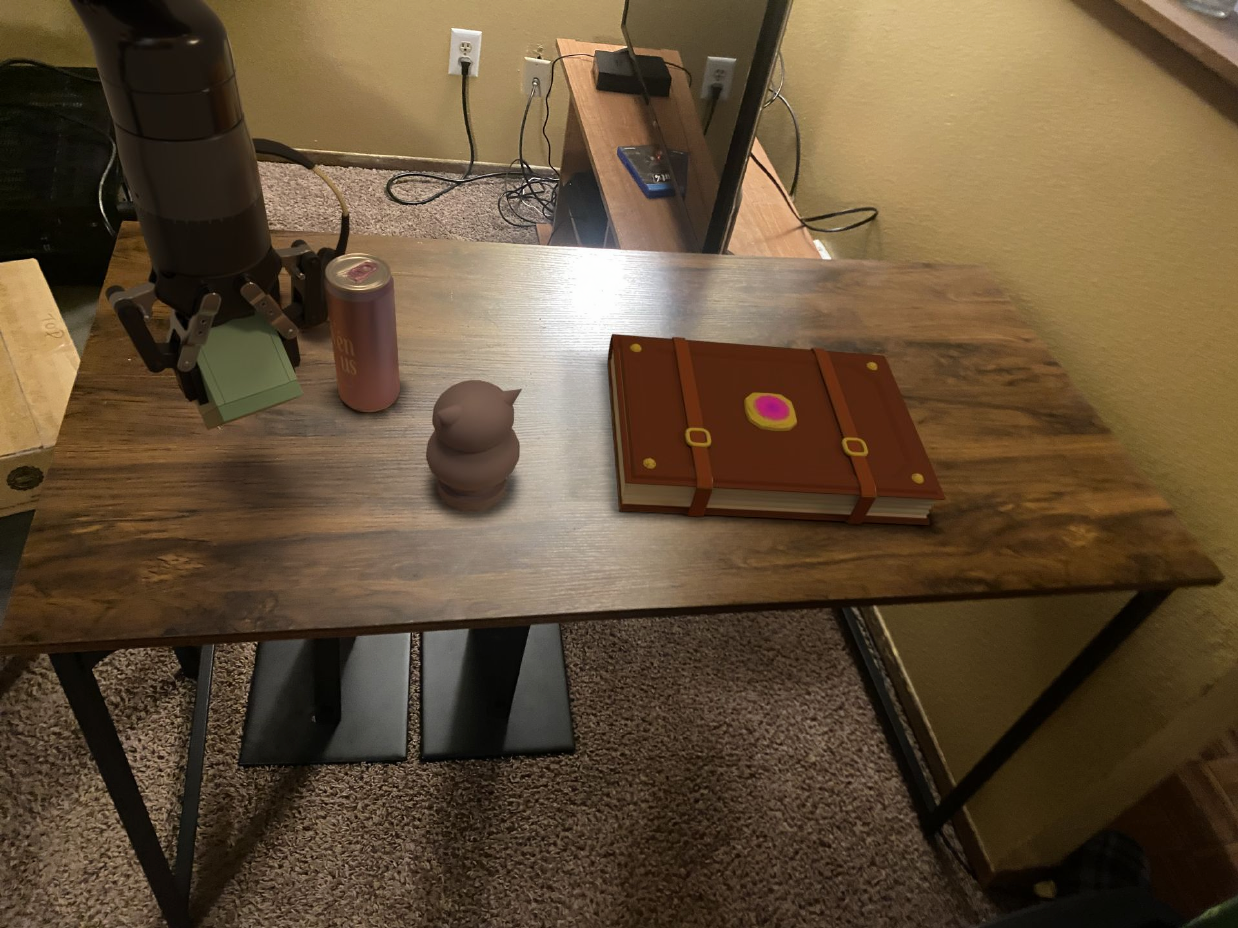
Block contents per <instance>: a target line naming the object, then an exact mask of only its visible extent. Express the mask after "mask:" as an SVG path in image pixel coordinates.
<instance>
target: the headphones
mask: <svg viewBox="0 0 1238 928" xmlns="http://www.w3.org/2000/svg"><path fill="white" fill-rule="evenodd" d="M252 141H253V144H254V148H255V153H256V154H260V155H269V156H275V157H279V158H282V159H285V160H287V161H291V162H293V163H295V164H297V165H299V166H302V167H303V168H305V169H307V170H308V171H312V172H313V173H314V174H315V175H317V176H318V177H319V178H320V179H321V180H322V181H323V182H324V183H325V184H326V185H327V186H328V187H329V188H330V190H331V191H332V192H333V194H334V195H335V197H336V198H337V201H338V202H339V204H340V208H341V217H340V218H341V219H340V232H339V237H338V241H337V244H336V247H335V248H332V247H329V246H328V247H326V246H323V247H321V248H320V249H318V250H317V252H316V255H317V256H318V257H319V258H320V259H321V262H322V264H321V310H320V321H319V322H318V323H317V324H316V325H313V326H309V325H306V326H307V327H309V328H314V327H318V326H320V325H322V324H324V323H326V322H329V315H328V307H327V300H326V292H325V285H324V280H325V276H326V275H325V270H326V267H327V265H328V264H329V263H330V262H331V261H332V260H333V259H335V258H337V257H339V256H342V255H346V252H347V249H348V244H349V243H348V242H349V237H350V231H351V230H350V226H351V225H350V212H349V210H348V207H347V203H346V202H345V201H346V200H345V199H344V196H343V195H342V193H341V192H340V190H339V189H338V188H337V185H335V183H334V182H333V181H332V180H331V179H330V177H328V176H327V175H326V174H325V173H324V172H323V171H322V170H321V169H319V167H317V166H316V163H314V162H313V161H312V160H311V159H309V158H308V157H307V156H306V155H304V154H303V153H302V152H300V151H298V150H296V149H294V148H293V147H290V146H289V145H286V144H284V143H282V142H279V141H277V140H276V141H275V140H271V139H267V138H262V137H261V138H258V137H252ZM280 285H281V284H280V279H279V277H278V278H277V279H276V281H275V283H274V285H273V287H272V289H271V290H270V292H269V295H270V296H271V297H272V298H273V299H274V300H275V301H276V303H277V304H278V305H279V302H280V297H281V288H280V287H281V286H280Z"/></svg>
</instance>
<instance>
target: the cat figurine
mask: <svg viewBox="0 0 1238 928" xmlns="http://www.w3.org/2000/svg"><path fill="white" fill-rule="evenodd" d="M522 390H523V388H518V389H509V390H503V389H502V388H501V387H499V386H498V385H496V384H493V383H492V382H489V381H485V380H481V379H469V380H464V381H460V382H458V383H455V384H452V385H451V386H449V387H448V388H447V389H446V390H444V391H443V392H442V393H441V394H440V396H439V397H438V399H437V400H436V401H435V403H434V405H433V410H432V418H431V421H432V422H431V423H432V426H433V429H434V430H433V432H432V433H431V435H430V437H429V438H428V441H427V443H426V444H427V445H426V452H425V459H426V462H427V465H428V468H429V470H430V472H431V473H432V474H433V475H434V476H435V477H436V478H437V491H438V493H439V496H440V498H441V499H442V501H444V502H445V503H446V504H447V505H448V506H450V507H451V508H454V509H455V510H459V511H462V512H468V513H469V512H471V513H472V512H476V513H477V512H480V511H485V510H486V511H487V510H489V509H490V508H493V507H494V506H496V505H497V504H498V503H499V502H501V500H502V499H503V498H504V495H505V492H506V489H507V478H508V477H509V476H511V474H512V473H513V472H514V470H515V469H516V466H517V464H518V462H519V460H520V453H521V452H520V451H521V449H520V448H521V445H520V440H519V438H518V436H517V434H516V432H515V430H514V429H513V426H514V423H515V408H514V404H515V402H516V400H517V399H518V397H519V396H520V394H521V393H522Z"/></svg>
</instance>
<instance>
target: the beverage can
mask: <svg viewBox="0 0 1238 928" xmlns="http://www.w3.org/2000/svg"><path fill="white" fill-rule="evenodd" d="M325 275H326V276H325V280H324V285H325V292H326V300H327V307H328V315H329V321H328V323H329V329H330V336H331V345H332V353H333V359H334V366H335V367H334V368H335V374H336V375H335V376H336V383H337V391H338V395H339V397H340V399H341V400H342V402H343V403H344V404H345V405H347V406H348V407H349V408H351V409H352V410H355V411H358V412H362V413H375V412H381V411H383V410H386V409H387V408H389V407H390V406H392V404H394V402H395V401H396V400H398V397H399V395H400V392H401V385H400V384H401V383H400V365H399V363H400V362H399V350H398V346H399V345H398V333H397V331H398V330H397V315H396V314H397V313H396V299H395V298H396V297H395V296H396V295H395V281H394V278H393V275H392V270H391V267H390V266H389V264H388V263H387V261H385V260H384V259H382V258H381V257H379V256H376V255H373V254H369V253H362V252H361V253H360V252H354V253H353V252H352V253H348V254H346V253H345V255H342V256H339V257H337V258H335V259H333V260H332V261H331V262H330V263H329V264H328V265H327V267H326V270H325Z"/></svg>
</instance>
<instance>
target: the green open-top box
mask: <svg viewBox="0 0 1238 928" xmlns="http://www.w3.org/2000/svg"><path fill="white" fill-rule="evenodd" d="M168 333H169V330H168V331H167V333H166V335H165V339H166V340H167V336H168ZM196 364H197V365H198V367H199V369H200V372H201V376H202V380H203V383H204V387H205V390H206V394H207V397H208V401H209V403H207V404H204V405H201V406H199V405H198V403H197V402H196V400H194V401H193V402H194V403H195V405H196V408H197V410H198V413H199V415H200V417H201V418H202V422H203V423H204V425H205V428H206V430H207V431H210V430H213V429H216V428H218V427H222V426H224V425H227V424H230V423H233V422H235V421H238V420H241V419H244V418H246V417H250V416H253V415H256V414H258V413H262V412H264V411H267V410H271V409H273V408H276V407H279V406H281V405H284V404H286V403H288V402H290V401H293V400H295V399H297V398H300V397H302V396H304V391H303V388H302V387H301V384H300V382H299V380H298V376H297V374H296V371H295V372H294V370H293V368H292V365H291V363H290V361H289V358H288V356H287V354H286V351H285V349H284V346H283V344H282V342H281V339H280V337H279V335H278V332H277V330H276V328H275V327H274V326H273V325H271V324H270V323H269V322H268V321H267V320H266V319H265V318H264V317H263V316H262V315H261V314H260V313H259V312H258V311H255V315H254V316H251V317H247V318H242V319H232V320H230V321H228V322H226V323H225V324H223V325H220V326H216V327H213V328H211V329H210V332H209V335H208V339H207V342H206V344H205V346H201V348H200V352H199V355H198V358H197V361H196Z"/></svg>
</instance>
